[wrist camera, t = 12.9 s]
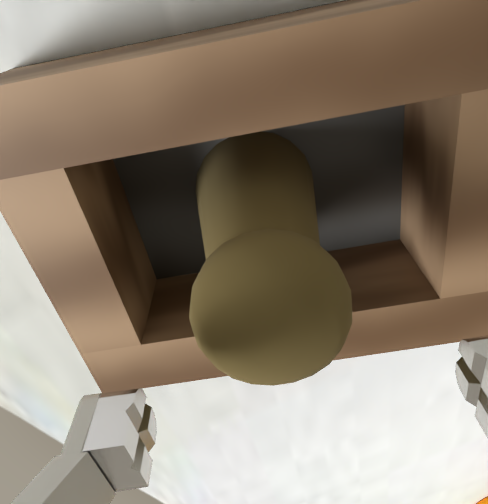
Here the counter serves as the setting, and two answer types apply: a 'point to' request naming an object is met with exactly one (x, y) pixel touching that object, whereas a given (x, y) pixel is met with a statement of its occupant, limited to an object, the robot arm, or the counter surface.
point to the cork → (265, 265)
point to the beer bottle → (483, 501)
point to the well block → (244, 122)
